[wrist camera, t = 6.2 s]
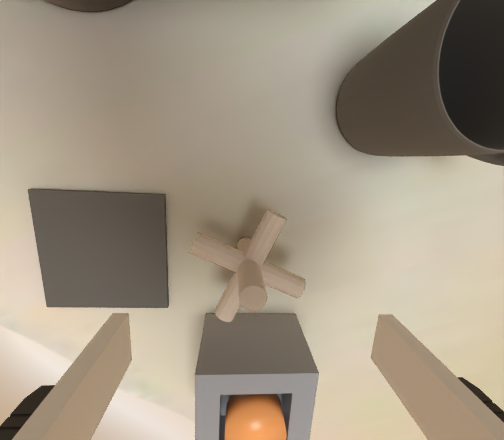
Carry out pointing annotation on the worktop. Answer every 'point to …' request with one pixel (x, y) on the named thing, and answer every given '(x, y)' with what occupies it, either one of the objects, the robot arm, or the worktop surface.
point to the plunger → (254, 417)
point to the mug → (432, 86)
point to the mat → (101, 248)
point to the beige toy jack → (249, 267)
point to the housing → (254, 370)
